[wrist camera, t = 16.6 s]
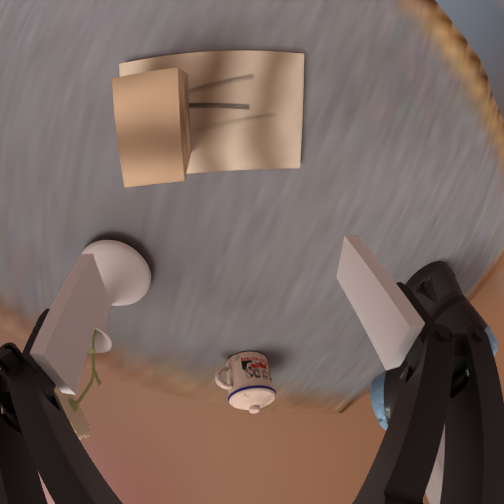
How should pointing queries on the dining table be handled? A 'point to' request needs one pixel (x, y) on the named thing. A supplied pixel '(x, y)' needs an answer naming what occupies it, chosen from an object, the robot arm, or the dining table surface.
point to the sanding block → (153, 126)
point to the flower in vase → (118, 293)
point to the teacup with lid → (247, 381)
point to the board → (239, 107)
